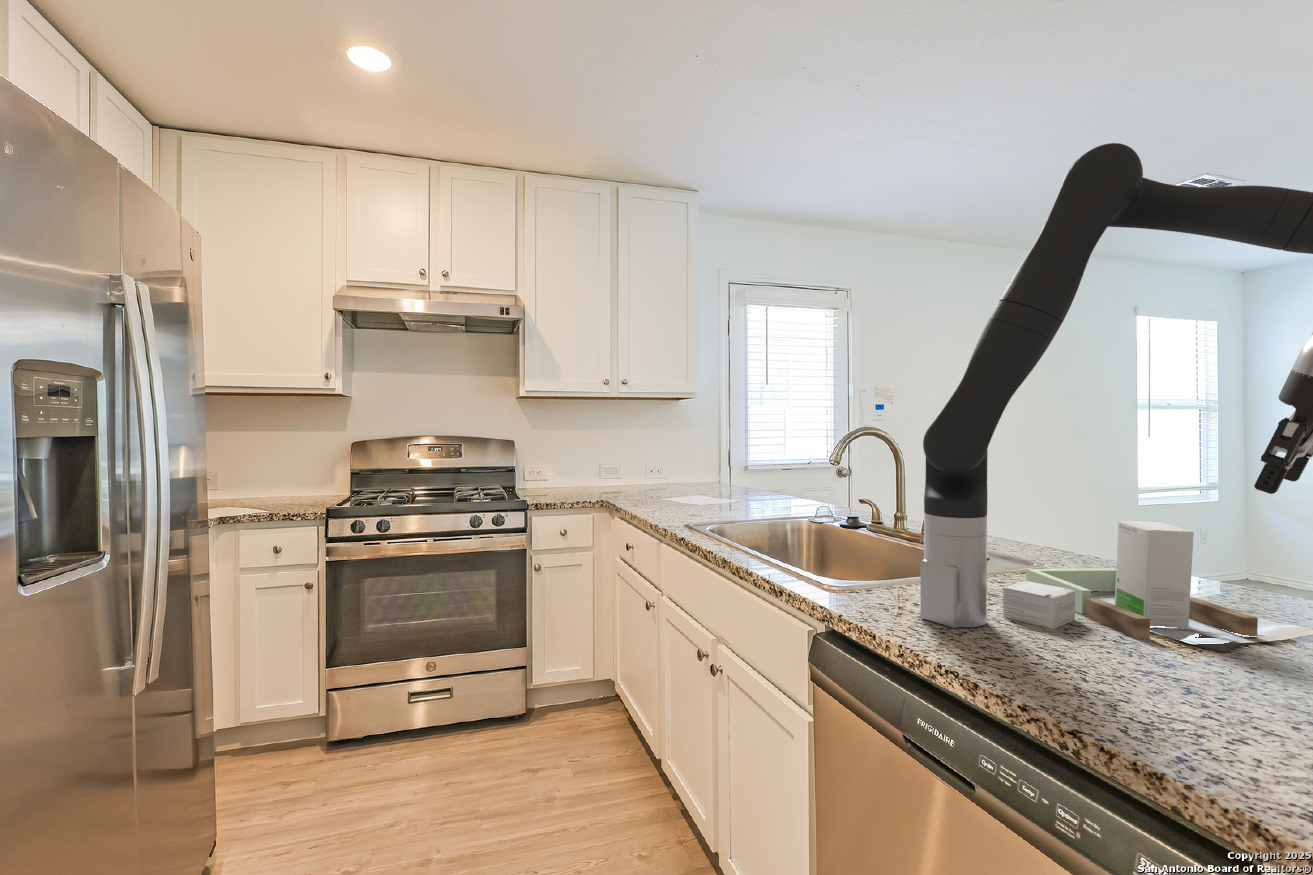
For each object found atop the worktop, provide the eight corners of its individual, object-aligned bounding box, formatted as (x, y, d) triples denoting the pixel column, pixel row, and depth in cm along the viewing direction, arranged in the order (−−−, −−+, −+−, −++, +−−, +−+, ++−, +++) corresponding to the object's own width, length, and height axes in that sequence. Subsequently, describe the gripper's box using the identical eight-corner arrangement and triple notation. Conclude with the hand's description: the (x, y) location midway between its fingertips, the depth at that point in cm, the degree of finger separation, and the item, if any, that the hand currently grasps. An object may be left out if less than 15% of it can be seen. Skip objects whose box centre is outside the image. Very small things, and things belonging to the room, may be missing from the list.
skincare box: (1113, 612, 102) (1114, 520, 101) (1156, 613, 101) (1157, 520, 100) (1146, 628, 93) (1147, 528, 93) (1194, 630, 92) (1195, 529, 92)
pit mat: (1224, 653, 83) (1224, 650, 83) (1179, 641, 88) (1179, 639, 88) (1240, 644, 86) (1240, 642, 86) (1196, 634, 91) (1196, 632, 91)
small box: (1025, 609, 104) (1025, 579, 104) (1076, 621, 98) (1076, 589, 98) (1001, 617, 100) (1001, 586, 100) (1053, 630, 93) (1053, 597, 93)
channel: (1257, 637, 89) (1257, 617, 89) (1136, 639, 89) (1136, 618, 89) (1193, 615, 100) (1193, 597, 100) (1085, 616, 99) (1085, 598, 99)
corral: (1186, 613, 101) (1186, 589, 101) (1082, 614, 101) (1082, 590, 100) (1117, 589, 116) (1117, 568, 116) (1026, 589, 116) (1026, 569, 115)
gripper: (1311, 360, 84) (1259, 465, 90) (1275, 370, 77) (1221, 483, 83) (1390, 375, 78) (1328, 486, 85) (1358, 388, 71) (1293, 508, 78)
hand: (1275, 484), depth 84 cm, fingers open, 8 cm apart
